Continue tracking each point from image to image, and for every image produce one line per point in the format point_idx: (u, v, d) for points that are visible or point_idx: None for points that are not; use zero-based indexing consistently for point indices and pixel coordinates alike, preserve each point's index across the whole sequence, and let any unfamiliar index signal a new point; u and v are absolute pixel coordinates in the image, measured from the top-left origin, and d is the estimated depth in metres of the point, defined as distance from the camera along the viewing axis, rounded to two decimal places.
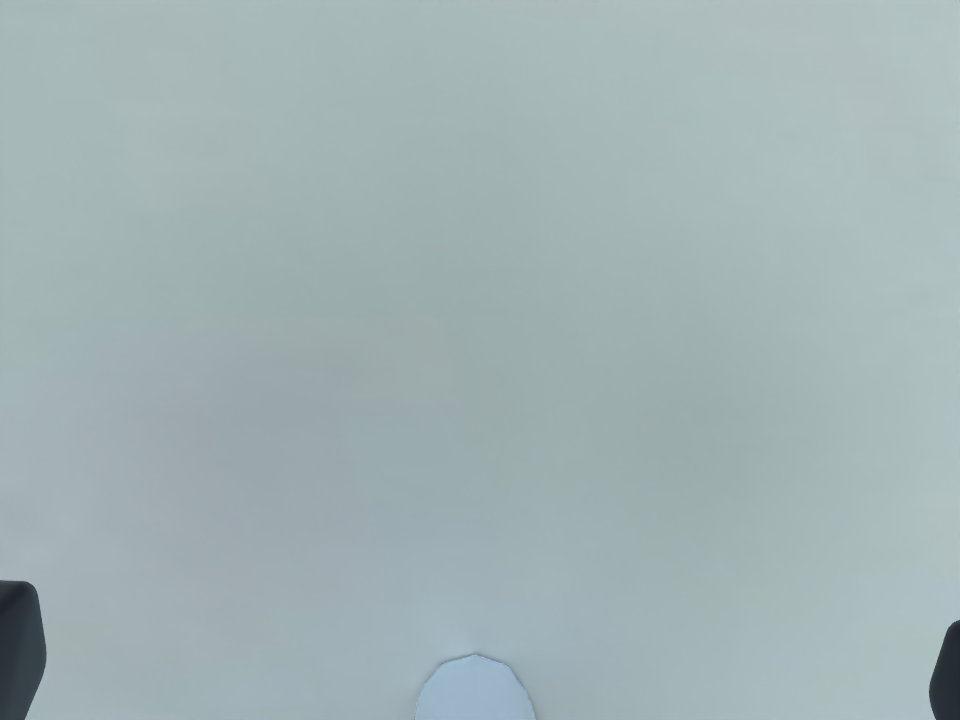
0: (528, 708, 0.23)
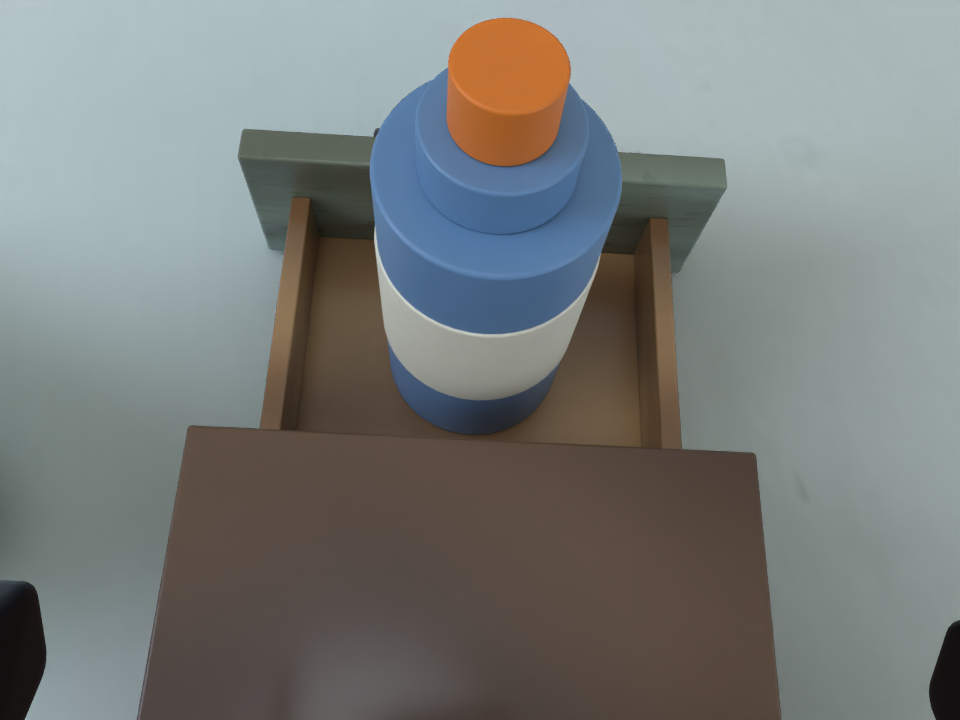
0: None
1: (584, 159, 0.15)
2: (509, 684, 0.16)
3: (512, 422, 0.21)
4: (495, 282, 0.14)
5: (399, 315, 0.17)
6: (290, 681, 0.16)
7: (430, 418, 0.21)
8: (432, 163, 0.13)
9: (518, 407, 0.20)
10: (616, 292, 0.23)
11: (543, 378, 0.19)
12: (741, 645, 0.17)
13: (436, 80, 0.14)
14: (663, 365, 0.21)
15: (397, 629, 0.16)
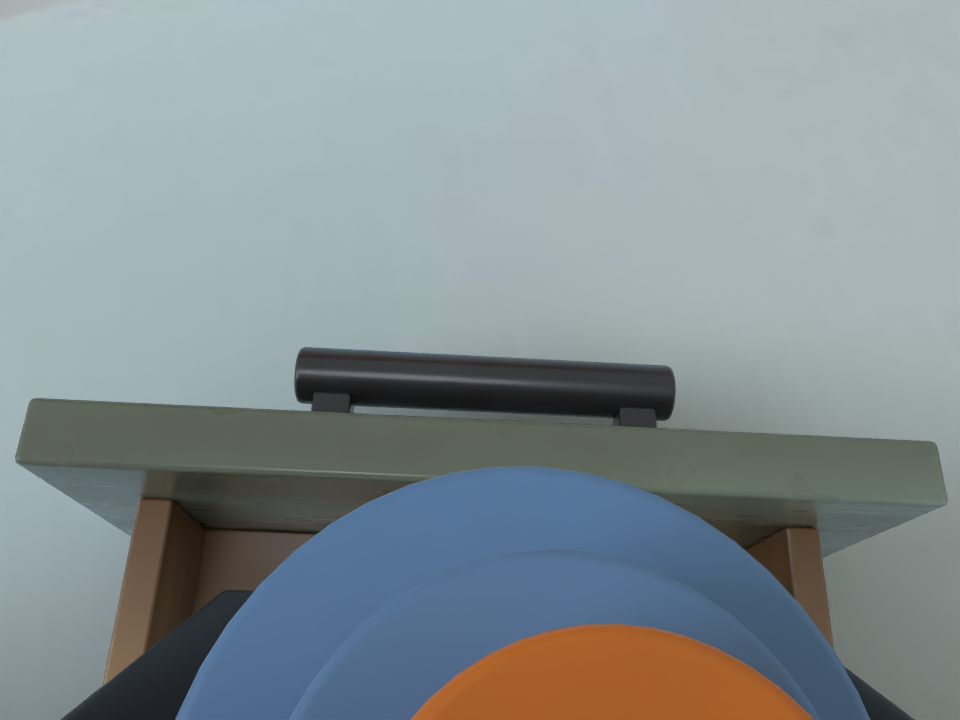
0: None
1: None
2: None
3: None
4: None
5: None
6: None
7: None
8: None
9: None
10: None
11: None
12: None
13: (330, 682, 0.04)
14: None
15: None
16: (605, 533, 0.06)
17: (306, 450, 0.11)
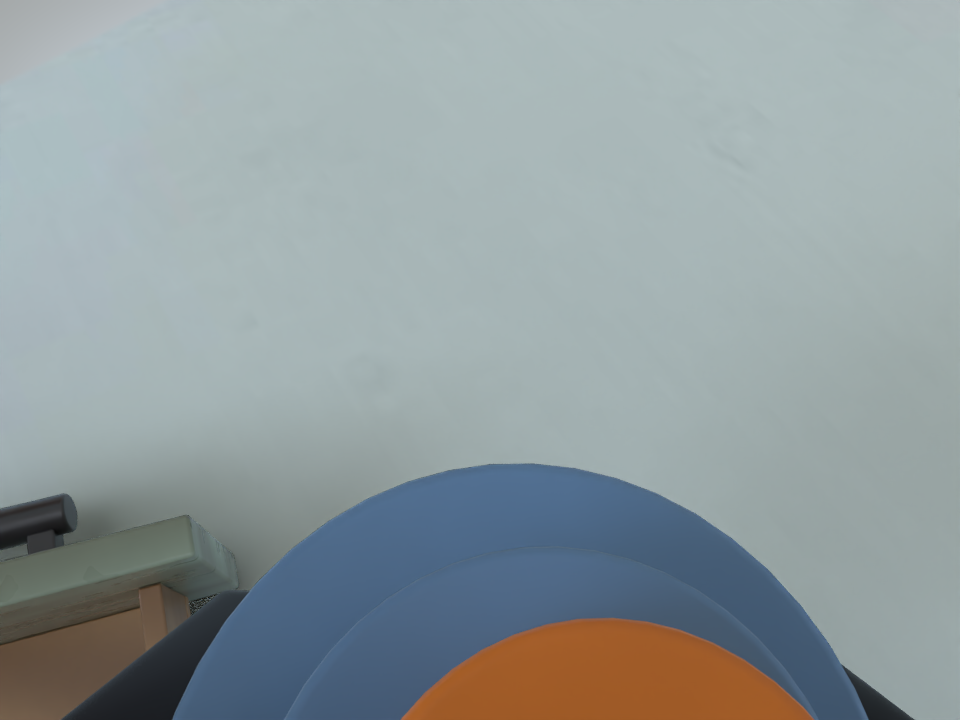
0: None
1: None
2: None
3: None
4: None
5: None
6: None
7: None
8: None
9: None
10: None
11: None
12: None
13: (327, 677, 0.04)
14: None
15: None
16: (602, 530, 0.06)
17: None
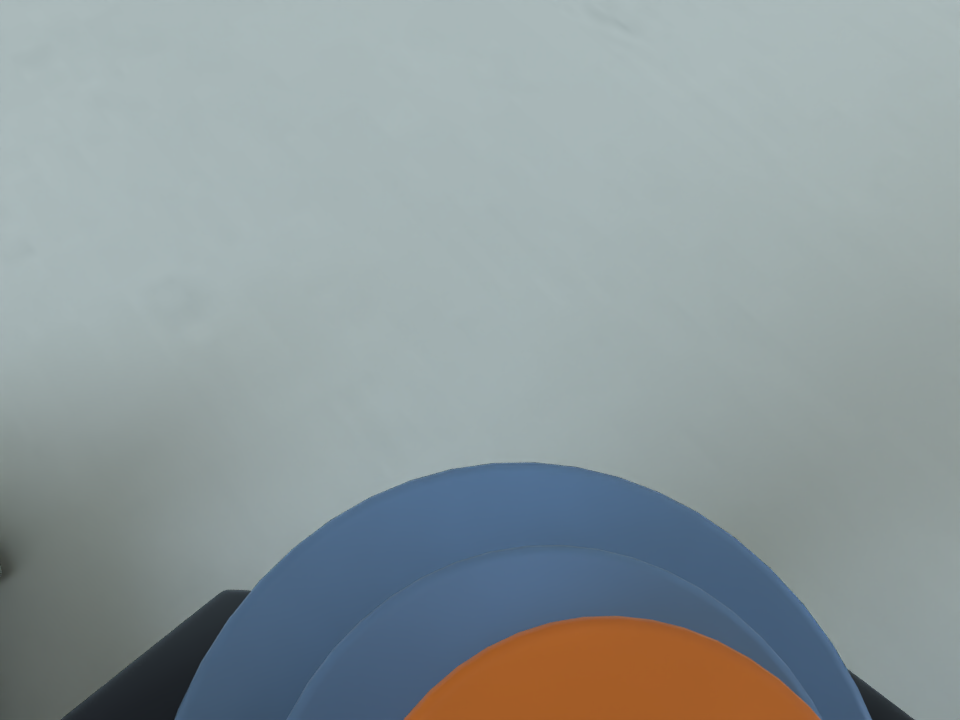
0: None
1: None
2: None
3: None
4: None
5: None
6: None
7: None
8: None
9: None
10: None
11: None
12: None
13: (331, 676, 0.04)
14: None
15: None
16: (605, 529, 0.06)
17: None
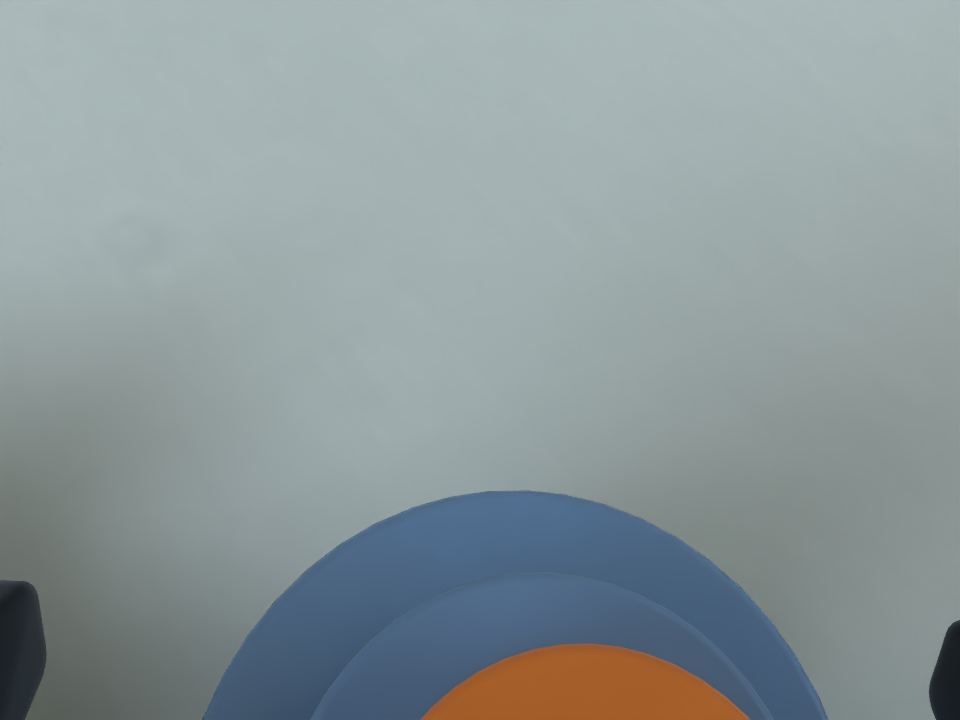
0: None
1: None
2: None
3: None
4: None
5: None
6: None
7: None
8: None
9: None
10: None
11: None
12: None
13: (344, 690, 0.04)
14: None
15: None
16: (591, 552, 0.06)
17: None
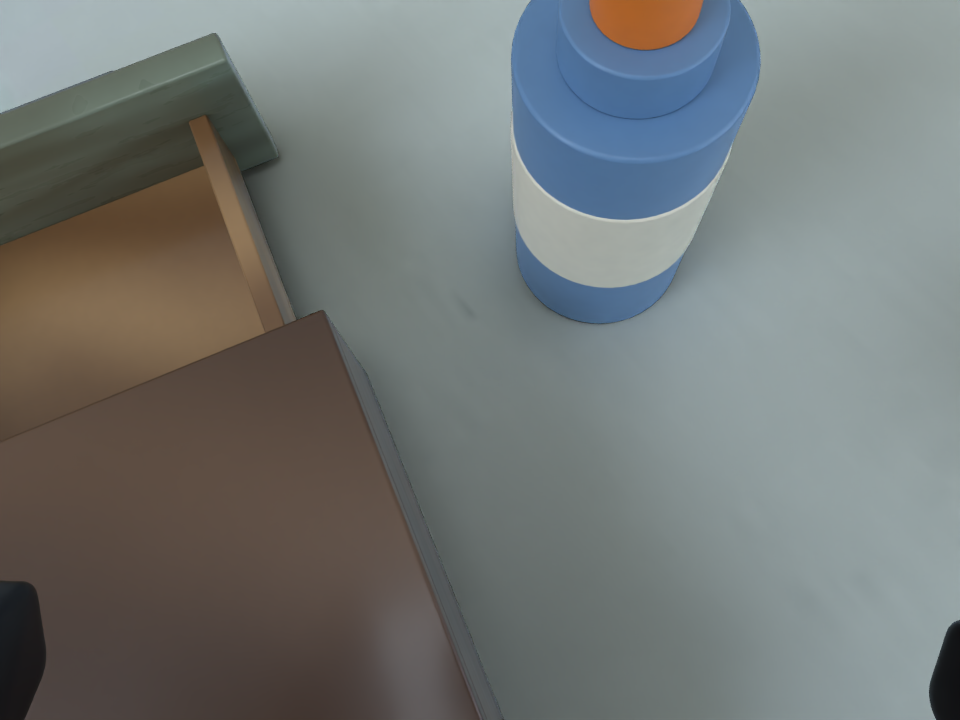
0: None
1: None
2: (151, 631, 0.16)
3: (641, 308, 0.22)
4: (642, 166, 0.15)
5: (539, 208, 0.18)
6: None
7: (561, 310, 0.22)
8: (579, 53, 0.14)
9: (648, 293, 0.21)
10: (211, 205, 0.23)
11: (674, 262, 0.20)
12: (358, 494, 0.17)
13: None
14: (245, 260, 0.20)
15: None
16: None
17: None
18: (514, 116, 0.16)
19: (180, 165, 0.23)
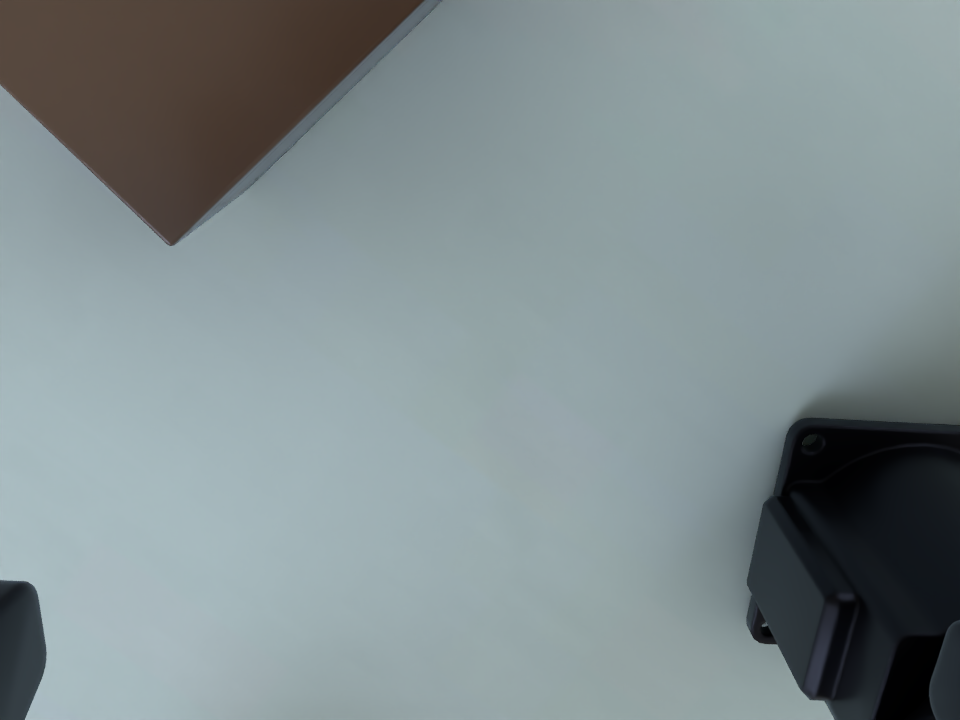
0: None
1: None
2: None
3: None
4: None
5: None
6: None
7: None
8: None
9: None
10: None
11: None
12: None
13: None
14: None
15: None
16: None
17: None
18: None
19: None
